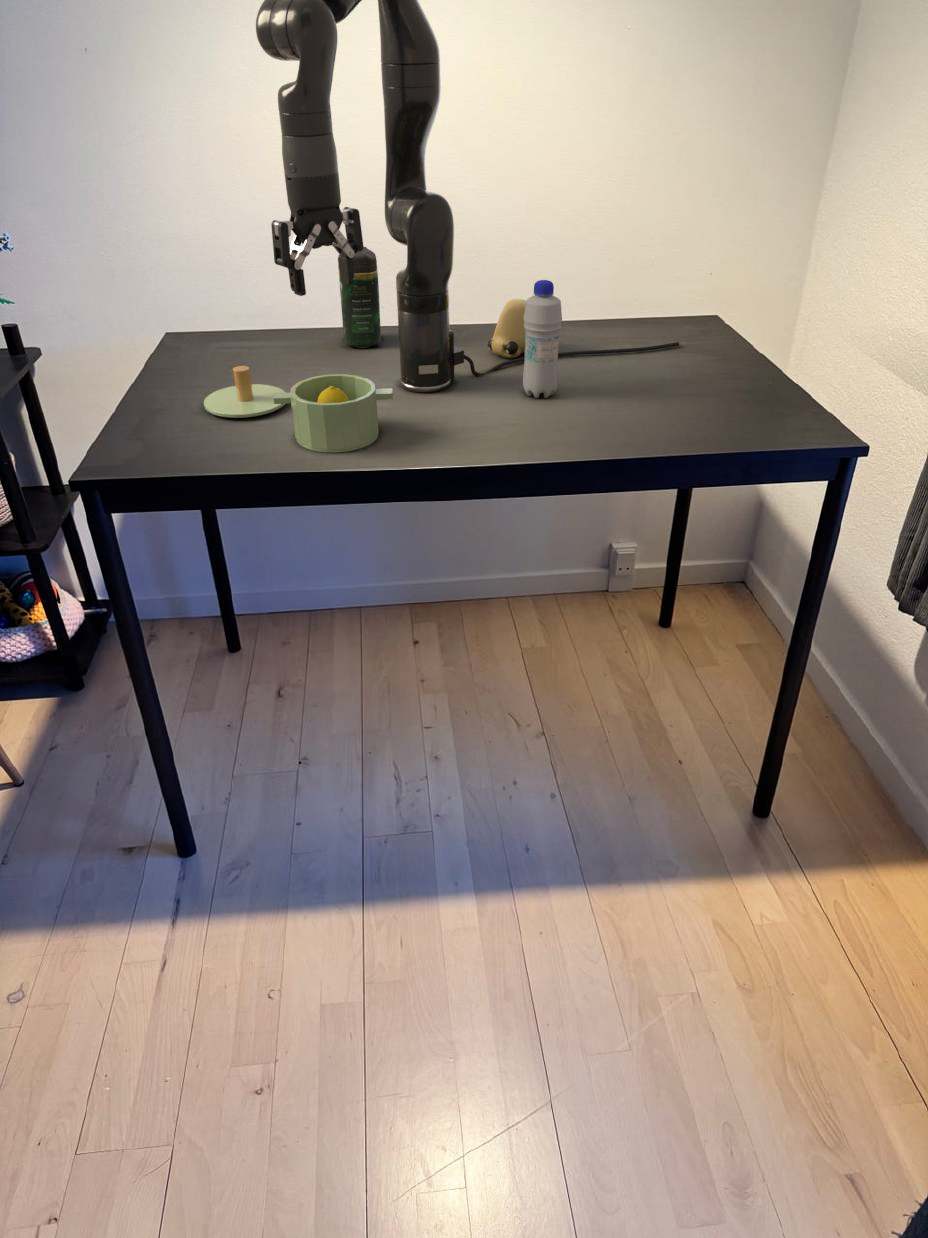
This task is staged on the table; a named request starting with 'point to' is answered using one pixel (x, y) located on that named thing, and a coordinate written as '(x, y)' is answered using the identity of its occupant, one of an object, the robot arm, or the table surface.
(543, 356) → the bottle
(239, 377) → the lid
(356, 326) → the coffee jar
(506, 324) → the beige curved piece
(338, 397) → the lemon
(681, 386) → the table surface
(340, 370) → the table surface
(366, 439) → the pot
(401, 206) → the robot arm
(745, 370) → the table surface
